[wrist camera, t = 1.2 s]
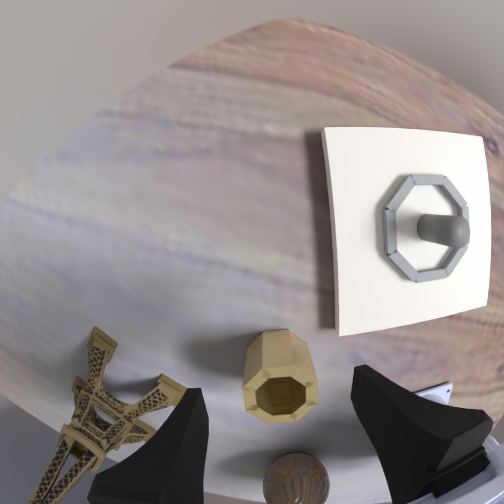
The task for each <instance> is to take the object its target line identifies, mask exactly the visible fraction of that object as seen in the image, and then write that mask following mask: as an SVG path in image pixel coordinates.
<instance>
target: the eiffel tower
mask: <svg viewBox="0 0 504 504" xmlns="http://www.w3.org/2000/svg"><path fill="white" fill-rule="evenodd" d="M117 345H118V343H117V342H116V341H114V340H113V339H112V338H110V337H109V336H108V335H106V334H105V333H104V332H102V331H101V330H100V329H98V328H97V327H95V328H94V330H93V333H92V335H91V338H90V340H89V343H88V346H87V347H88V348H89V352H88V359H89V372H88V380H87V383H85V382H84V381H83V380H82V379H80V378H79V377H78V376H77V377H76V379H75V382H74V385H73V388H72V392H74V393H75V395H74V400H75V410H74V413H73V416H72V418H71V420H72V421H71V423H70V424H69V425H66V424H64V425H63V427H62V429H61V434H60V439H59V442H58V445H57V450H56V452H55V454H54V456H53V458H52V459H51V461H50V463H49V465H48V467H47V469H46V471H45V472H44V474H43V476H42V478H41V480H40V482H39V484H38V485H37V487H36V489H35V491H34V493H33V495H32V496H31V498H30V500H29V502H28V504H59V503H60V502H61V500H62V499H63V498H64V497H65V496H66V495H67V494H68V493H69V492H70V491H71V490H72V488H73V487H74V486H75V485H76V484H77V483H78V482H79V481H80V479H81V478H82V477H83V476H84V475H85V474H86V473H87V471H89V470H90V471H92V472H93V473H94V472H95V471H96V470H98V468H99V467H100V465H101V464H102V462H103V460H104V459H105V457H106V455H107V452H109V451H110V450H112V449H115V450H116V451H117V450H118V449H119V447H120V446H121V444H130V443H137V442H141V441H142V440H144V441H146V442H147V441H148V440H149V439H150V438H151V437H152V436H153V435H154V434H155V433H156V432H157V430H156V429H154V428H152V427H150V426H149V425H147V424H145V423H144V422H142V421H140V420H139V419H137V418H138V417H140V416H142V415H144V414H146V413H148V412H152V411H156V410H160V409H163V408H167V407H169V406H171V405H173V406H176V405H177V404H178V402H179V401H180V399H181V398H182V396H183V395H184V393H185V391H186V390H187V388H186V387H184V386H182V385H180V384H179V383H177V382H175V381H174V380H172V379H171V378H169V377H167V376H166V375H164V374H162V376H161V377H160V379H159V380H158V382H157V384H156V385H155V387H154V388H153V390H152V391H151V392H149V393H148V394H147V395H146V396H144V397H143V398H142V399H141V400H139V401H138V402H137V403H136V404H134V405H133V404H128V403H124V402H122V401H119V400H117V399H115V398H114V397H113V396H111V395H110V394H109V393H108V391H107V390H106V389H105V387H104V386H103V384H102V383H101V382H102V378H103V373H104V369H105V365H106V364H108V363H109V362H110V360H111V358H112V355H113V353H114V351H115V349H116V347H117ZM93 404H95V405H96V406H97V407H99V408H100V409H102V410H103V411H105V412H106V413H108V414H109V415H110V416H112V417H113V418H115V419H116V420H118V421H117V422H116V423H115V424H111V423H109V422H107V421H105V420H104V419H103V418H101V417H100V416H99V415H98V414H97V413H96V411H95V409H94V407H93ZM83 427H84V428H86V429H87V430H88V431H87V430H86V429H84V428H83ZM89 431H90V432H91V433H92V434H91V433H90V432H89ZM93 434H94V435H95V436H94V435H93ZM96 436H97V437H98V438H97V437H96ZM99 438H100V439H99ZM69 454H70V455H71V456H73V457H74V458H75V459H77V460H78V462H77V463H76V464H75V465H74V466H73V467H72V468H71V469H70V470H69V471H68V472H67V473H66V474H65V476H64V477H63V478H62V479H61V480H60V481H59V482H58V483H57V484H56V485H55V486H54V487H53V485H54V483H55V481H56V479H57V477H58V475H59V473H60V471H61V469H62V467H63V465H64V463H65V462H66V460H67V458H68V456H69ZM52 487H53V489H52ZM51 489H52V490H51Z"/></svg>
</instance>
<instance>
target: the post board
mask: <svg viewBox="0 0 504 504" xmlns="http://www.w3.org/2000/svg"><path fill="white" fill-rule="evenodd" d="M321 138H322V146H323V153H324V161H325V169H326V178H327V188H328V198H329V208H330V220H331V233H332V249H333V267H334V292H335V330H336V331H337V333H338V335H339V336H345V335H352V334H358V333H364V332H370V331H376V330H382V329H387V328H393V327H398V326H403V325H408V324H413V323H417V322H422V321H427V320H431V319H435V318H440V317H444V316H448V315H452V314H456V313H460V312H464V311H467V310H471V309H475V308H478V307H482V306H485V305H487V297H488V287H489V275H490V258H491V212H490V195H489V183H488V174H487V165H486V158H485V152H484V145H483V140H482V137H478V136H472V135H465V134H457V133H449V132H440V131H429V130H417V129H402V128H378V127H326V128H324V129H323V130H322V131H321Z"/></svg>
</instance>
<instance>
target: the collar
mask: <svg viewBox="0 0 504 504" xmlns="http://www.w3.org/2000/svg"><path fill="white" fill-rule="evenodd" d="M242 389H243V395H244V402H245V408H246V411H247V412H249V413H251V414H252V415H254V416H256V417H257V418H259V419H261V420H262V421H264V422H266V423H268V424H274V423H286V422H296V421H298V420H299V419H301V418H302V417H303V416H304V415H306V414H307V413H308V412H309V411H310V410H311V409H313V408H314V407H315V406H316V405H317V404H318V380H317V376H316V373H315V370H314V366H313V363H312V360H311V356H310V353H309V350H308V346H307V343H306V342H305V341H303V340H302V339H301V338H299V337H298V336H297V335H295V334H294V333H293V332H291V331H290V330H289V329H285V330H274V331H263V332H262V333H261V334H260V335H259V336H258V337H257V338H256V340H255V341H254V342H253V343H252V344H251V345H250V346H249V347H248V348H247V354H246V362H245V370H244V378H243V386H242Z"/></svg>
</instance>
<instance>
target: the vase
mask: <svg viewBox="0 0 504 504" xmlns="http://www.w3.org/2000/svg"><path fill="white" fill-rule="evenodd" d="M329 488H330V482H329V477H328V473H327V471H326V469H325V467H324V466H323V464H322V463H321V462H320V461H319V460H318V459H317V458H315V457H313V456H311V455H308V454H304V453H290V454H286V455H284V456H282V457H280V458H278V459H276V460H275V461H274V462H273V463H272V464H271V465H270V466H269V468H268V469H267V471H266V473H265V476H264V480H263V494H264V497H265V500H266V502H267V504H324V503H325V501H326V499H327V497H328V494H329Z"/></svg>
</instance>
